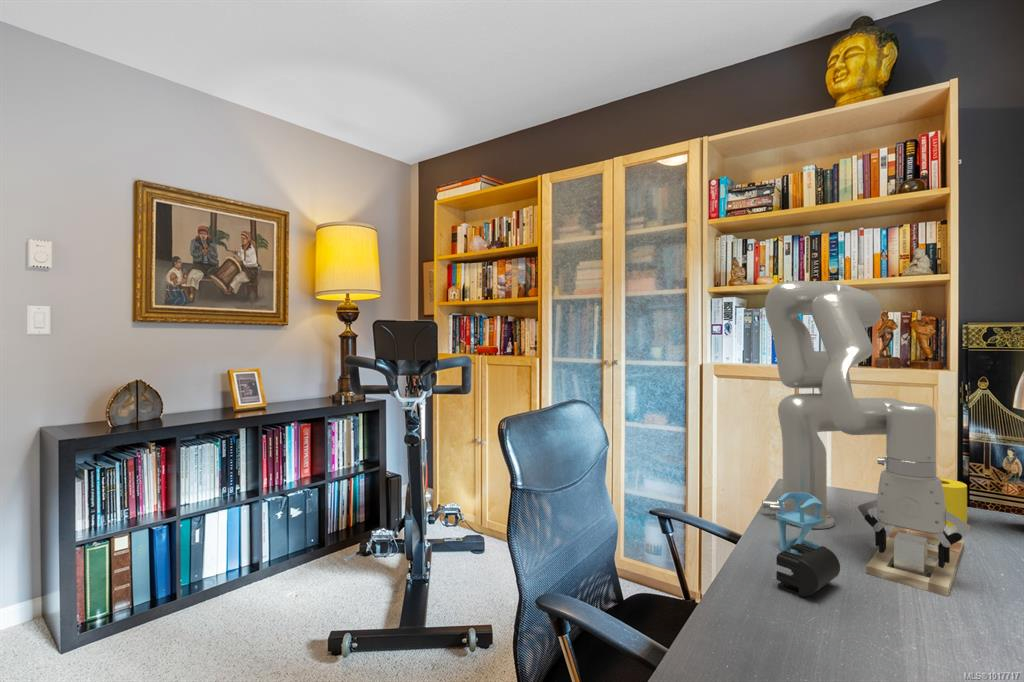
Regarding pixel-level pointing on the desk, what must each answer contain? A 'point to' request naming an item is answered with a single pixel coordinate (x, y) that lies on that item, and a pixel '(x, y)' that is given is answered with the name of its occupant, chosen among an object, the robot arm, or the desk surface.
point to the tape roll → (955, 498)
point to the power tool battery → (807, 569)
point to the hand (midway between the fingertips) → (911, 557)
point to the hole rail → (940, 576)
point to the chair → (798, 519)
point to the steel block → (910, 553)
